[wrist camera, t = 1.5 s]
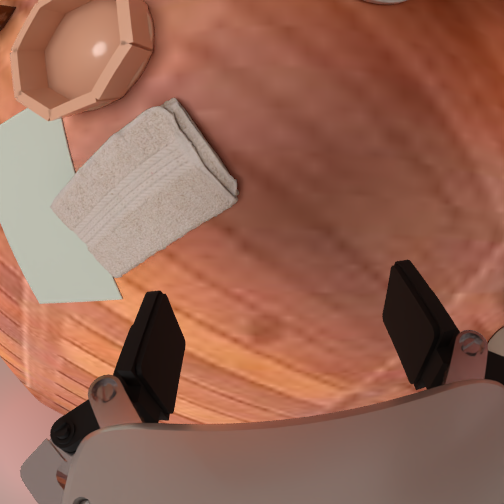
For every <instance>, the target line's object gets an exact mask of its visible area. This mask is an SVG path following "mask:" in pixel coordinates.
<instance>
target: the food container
mask: <svg viewBox="0 0 504 504" xmlns="http://www.w3.org/2000/svg"><path fill="white" fill-rule="evenodd" d="M15 8H16V7H11V6H4V5H0V31H1V29H2V28H3V27H4V26H5V24H6V23H7V22H8V20H9V19H10V17H11V15H12V14H13V12H14V10H15Z"/></svg>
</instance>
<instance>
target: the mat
mask: <svg viewBox="0 0 504 504" xmlns="http://www.w3.org/2000/svg"><path fill="white" fill-rule="evenodd" d="M75 174H76V173H75V169H74V165H73V162H72V158H71V154H70V150H69V146H68V142H67V138H66V134H65V129H64V125H63V120H62V118H61V119H57V120H54V121H47V120H45V119H44V118H42V117H41V116H39V115H38V114H36V113H35V112H33V111H32V110H30V109H29V108H27V109H25V110H23V111H22V112H20V113H18V114H17V115H15V116H13V117H12V118H10V119H8V120H7V121H5V122H4V123H2V124H1V125H0V223H1V226H2V228H3V231H4V233H5V235H6V238H7V240H8V242H9V245H10V247H11V249H12V251H13V253H14V256H15V258H16V260H17V262H18V264H19V266H20V268H21V270H22V272H23V274H24V276H25V278H26V280H27V282H28V284H29V285H30V287H31V289H32V291H33V293H34V294H35V296H36V298H37V300H38V301H39V303H40V304H42V303H66V302H86V301H103V300H119V299H123V298H122V295H121V293H120V291H119V289H118V287H117V284H116V282H115V280H114V278H113V276H111V274H110V273H109V272H108V271H107V270H106V269H105V268H104V267H103V266H102V265H101V264H100V263H99V262H98V261H97V260H96V259H95V257H94V256H93V254H91V253H90V251H88V247H87V245H86V243H84V242H83V241H82V240H81V239H80V238H79V237H78V236H77V235H76V234H75V233H74V232H73V231H71V230H70V229H69V228H68V227H67V226H66V225H65V224H64V223H63V222H62V221H61V219H59V218H58V216H57V215H56V214H55V213H54V212H53V211H52V209H51V208H50V206H51V204H52V202H53V200H54V198H55V197H56V196H57V195H58V193H59V192H60V191H61V190H62V189H63V188H64V187H65V186H66V185H67V183H68V182H69V181H70V180H71V179H72V178H73V176H74V175H75Z"/></svg>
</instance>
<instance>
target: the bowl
mask: <svg viewBox="0 0 504 504" xmlns="http://www.w3.org/2000/svg"><path fill="white" fill-rule="evenodd" d="M153 44H154V24H153V20H152V17H151V14H150V12H149V11H148V5H147V4H146V3H145V2H144V1H143V0H38V4H37V3H36V4H35V5H34V7H33V9H32V10H31V12H30V14H29V15H28V17H27V19H26V21H25V23H24V25H23V26H22V28H21V30H20V32H19V34H18V36H17V38H16V40H15V42H14V44H13V46H12V48H11V51H12V52H11V53H10V59H11V71H12V80H13V88H14V95H15V98H17V99H16V101H18V102H19V103H21V104H22V105H24V106H26V107H27V108H29V109H30V110H32V111H33V112H35V113H36V114H38V115H39V116H41V117H42V118H44V119H45V120H47V121H54V120H57V119H61V118H64V117H68V116H72V115H76V114H80V113H82V112H85V111H90V110H95V109H98V108H102V107H104V106H106V105H109V104H111V103H112V102H114V101H116V100H118V99H121V97H124V95H125V93H126V92H127V91H128V90H129V89H130V88H131V87H132V86H133V85H134V84H135V83H136V81H137V80H138V79H139V77H140V76H141V75H142V73H143V71H144V69H145V68H146V66H147V63H148V61H149V59H150V56H151V54H152V50H153Z"/></svg>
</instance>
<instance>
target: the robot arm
mask: <svg viewBox="0 0 504 504" xmlns="http://www.w3.org/2000/svg"><path fill="white" fill-rule="evenodd" d="M364 1H367V2H371V3H376V4H397V3H401V2H404V1H407V0H364ZM383 322H384V324H385V326H386V329H387V331H388V333H389V335H390V337H391V340H392V342H393V344H394V346H395V349H396V351H397V353H398V356H399V358H400V360H401V363H402V365H403V368H404V370H405V372H406V375H407V377H408V380H409V382H410V383H411V384H414V386H415V389H416V390H418V389H421V388H424V387H426V388H427V390H425V391H421V392H418V393H415V394H411V395H408V396H404V397H400V398H397V399H393V400H389V401H385V402H381V403H377V404H373V405H369V406H364V407H360V408H355V409H350V410H345V411H339V412H334V413H328V414H322V415H316V416H309V417H302V418H294V419H286V420H276V421H265V422H252V423H233V424H164V423H158V421H159V420H169V415H170V414H172V413H173V412H174V407H175V401H176V395H177V389H178V383H179V378H180V372H181V367H182V361H183V356H184V351H185V339H184V336H183V334H182V332H181V329H180V327H179V324H178V322H177V320H176V317H175V315H174V312H173V310H172V307H171V305H170V302H169V300H168V297H167V295H166V294H163V293H162V292H161V291H151V292H147V293H146V294H145V297H144V299H143V302H142V304H141V307H140V309H139V312H138V314H137V317H136V319H135V322H134V324H133V325H132V326H131V328H130V330H129V332H128V335H127V338H126V340H125V343H124V346H123V348H122V351H121V354H120V357H119V359H118V362H117V365H116V368H115V371H114V374H113V375H103V376H101V377H99V378H97V379H96V380H94V382H93V383H92V384H91V385H90V387H89V390H88V398H89V399H88V400H87V401H85V402H84V403H82V404H81V405H79V406H78V407H76V408H75V409H73V410H72V411H70V412H69V413H67V414H66V415H64V416H62V417H61V418H59V419H58V420H57V421H56V422H55V423H54V424H53V426H52V429H51V434H50V436H51V439H50V440H48V439H45V440H44V441H43V442H42V444H41V445H40V446H39V447H38V448H37V449H36V450H35V451H34V452H33V453H32V454H31V455H30V457H29V458H28V459H27V460H26V461H25V462H24V463H23V465H22V466H21V470H20V473H21V478H22V480H23V482H24V484H25V485H26V487H27V488H28V490H29V491H30V493H31V494H32V495H33V497H34V498H35V500H36V501H37V502H38V503H39V504H504V356H501V355H499V354H496V353H494V352H491V351H489V350H488V344H487V342H486V339H485V338H484V337H483V336H482V335H481V334H480V333H478V332H476V331H473V330H464V331H462V332H459V330H458V328H457V327H456V325H455V324H454V322H453V320H452V319H451V317H450V316H449V314H448V313H447V311H446V310H445V308H444V307H443V305H442V304H441V302H440V301H439V299H438V298H437V296H436V295H435V294H434V292H433V291H432V290H431V288H430V287H429V286H428V284H427V283H426V281H425V280H424V279H423V277H422V276H421V275H420V273H419V272H418V271H417V269H416V268H415V266H414V265H413V264H412V263H411V261H410V260H403V261H397V262H395V264H394V266H392V267H391V271H390V277H389V283H388V289H387V294H386V300H385V305H384V310H383Z"/></svg>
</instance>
